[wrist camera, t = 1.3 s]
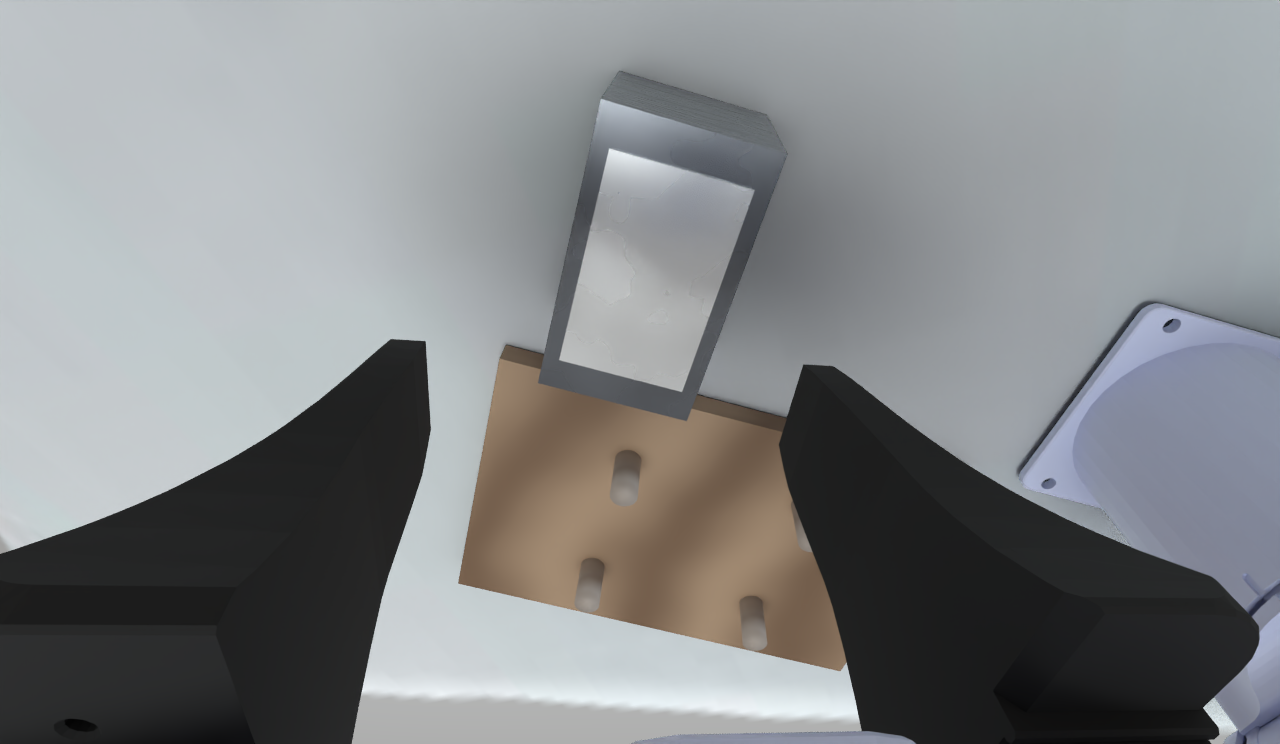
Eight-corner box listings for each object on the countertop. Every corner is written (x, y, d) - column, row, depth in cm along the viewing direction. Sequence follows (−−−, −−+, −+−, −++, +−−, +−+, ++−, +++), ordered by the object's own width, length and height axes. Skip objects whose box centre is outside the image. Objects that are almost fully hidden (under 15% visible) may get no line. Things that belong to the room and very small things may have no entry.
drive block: (766, 114, 20) (788, 155, 16) (687, 340, 24) (687, 423, 20) (620, 70, 20) (600, 99, 15) (565, 308, 24) (537, 384, 19)
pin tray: (963, 464, 26) (993, 519, 23) (835, 652, 32) (849, 712, 30) (506, 344, 24) (484, 389, 22) (464, 565, 31) (444, 620, 28)
